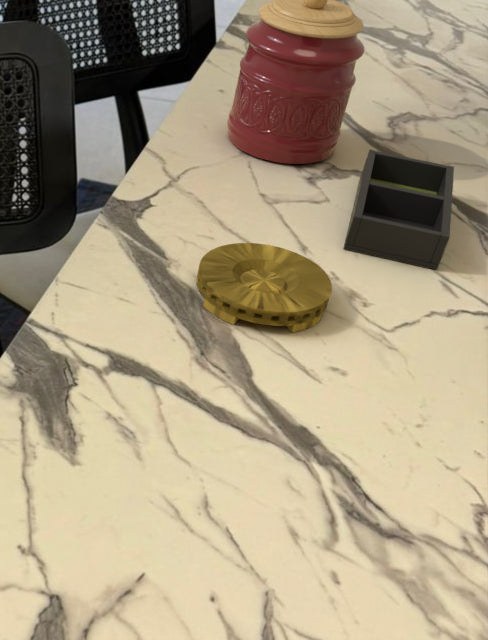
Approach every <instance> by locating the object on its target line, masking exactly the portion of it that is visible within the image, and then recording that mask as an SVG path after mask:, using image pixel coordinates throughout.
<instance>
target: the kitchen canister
mask: <svg viewBox="0 0 488 640" xmlns="http://www.w3.org/2000/svg"><path fill="white" fill-rule="evenodd" d="M258 16H259V18H260V19H259V21H256V22H254V23H253V24H251V25H250V26H249V27H248V28H247V29H246V32H245V36H246V39H247V41H248V46H247V50H246V53H245V54H244V55H243V56H242V57H241V59H240V62H239V71H238V72H239V73H238V78H237V83H236V87H235V91H234V96H233V101H232V106H231V109H230V110H229V112H228V119H227V122H226V124H227V125H226V126H227V133H226V134H227V138H228V140H229V141H230V143H232V144H233V146H234V147H236V148H237V149H239V150H240V151H242V152H244V153H246V154H248V155H250V156H252V157H256V158H258V159H262V160H265V161H268V162H273V163H278V164H289V165H290V164H292V165H303V164H304V165H307V164H314V163H318V162H321V161H324V160H326V159H328V158H329V157H331V156H332V154H333V153H334V150H335V147H336V146H338V145H337V144H338V143H339V140H340V139H339V138H340V136H341V133H342V132H341V131H342V130H341V127H342V124H343V121H344V118H345V113H346V111H347V107H348V104H349V99H350V97H351V92H352V89H353V87H354V86H355V84H356V82H357V81H356V79H357V77H356V75H355V68H356V63H357V61H358V60H359V59H360V58H361V57H363V55H364V54H365V49H366V48H365V45H364V43H363V42H362V41H361V39H360V38H359V37H358V34H360V33H361V32H362V31H363V29H364V22H363V21H362V20H361V18H359V17H358V16H357V15H356V14H355V13H354V11H353V9H352V8H351V7H350V6H349V5H347V4H345V3H343V2H342V1H341V2H340V1H338V0H272V1H269V2H267V3H265V4H263V5H261V6H260V7H259V10H258Z"/></svg>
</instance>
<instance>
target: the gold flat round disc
mask: <svg viewBox="0 0 488 640" xmlns="http://www.w3.org/2000/svg"><path fill="white" fill-rule="evenodd" d="M195 280H196V281H195V282H196V283H195V284H196V287H197V290H198V291H199V293H200V295H201V296H202V297H203V298H204V299H203V304H202V306H203V307H204V308H205V309H206V310H207V311H208V312H209V313H211V314H212V315H214V316H215V317H217V318H218V319H220V320H222V321H224V322H226V323H229V324H231V325H233V326H234V325H235V324H236V323H237V322H238V321H239V320H242V321H245V322H249V323H253V324H258V325H266V326H274V327H275V326H276V327H286V328H287V329H288V330H289V331H290V333H298V332H301V331H306V330H308V329H310V328H312V327H314V326H316V325H317V324H318V323H319V322H321V319H322V317H323V314H324V312H325V311H326V309H327V307H328V305H329V303H330V299H331V295H332V292H333V284H332V280H331V279H330V277H329V275H328V274H327V272H326V271H325V270H324V269H323V268H322V267H321V266H320V265H319V264H317V263H315V262H314V261H313V260H311V259H309V258H308V257H306V256H304V255H302V254H299V253H297V252H295V251H292V250H289V249H287V248H283V247H280V246H275V245H270V244H264V243H256V242H255V243H254V242H238V243H237V242H236V243H229V244H224V245H220V246H217V247H215V248H213V249H211V250H209V251H208V252H206V253H205V254H204V255H203V256H202V257H201V259H200V262H199V264H198V269H197V273H196V279H195Z"/></svg>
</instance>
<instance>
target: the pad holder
mask: <svg viewBox="0 0 488 640" xmlns="http://www.w3.org/2000/svg"><path fill="white" fill-rule="evenodd" d="M454 174H455V166H452V165H448V164H447V165H446V164H443V163H437V162H433V161H428V160H423V159H418V158H414V157H409V156H403V155H398V154H393V153H388V152H384V151H379V150H375V149H374V150H373V149H368V152H367V155H366V158H365V162H364V165H363V167H362V170H361V173H360V177H359V181H358V185H357V188H356V193H355V198H354V202H353V206H352V210H351V214H350V219H349V223H348V227H347V232H346V236H345V240H344V245H343V250H346V251H350V252H354V253H360V254H364V255H368V256H371V257H377V258H381V259H386V260H391V261H395V262H399V263H404V264H408V265H413V266H416V267H420V268H421V267H422V268H425V269H430V270H434V271H437V270H438V268H439V265H440V262H441V260H442V258H443V256H444V253H445V250H446V248H447V245H448V242H449V239H450V234H451V220H452V219H451V218H452V204H453V192H454V191H453V190H454V176H455V175H454Z"/></svg>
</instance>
